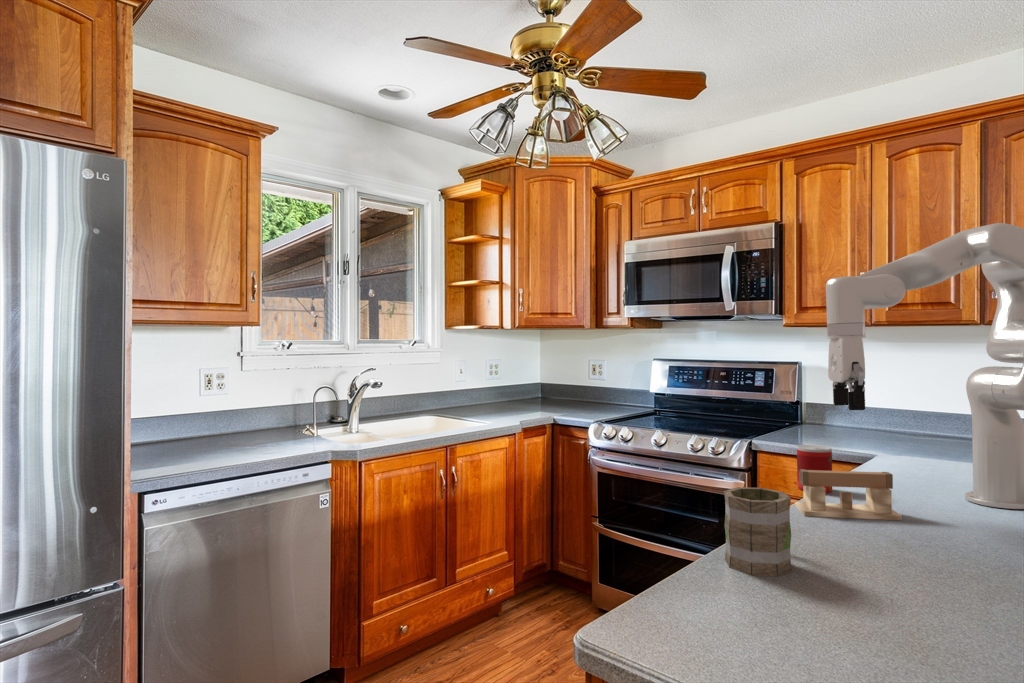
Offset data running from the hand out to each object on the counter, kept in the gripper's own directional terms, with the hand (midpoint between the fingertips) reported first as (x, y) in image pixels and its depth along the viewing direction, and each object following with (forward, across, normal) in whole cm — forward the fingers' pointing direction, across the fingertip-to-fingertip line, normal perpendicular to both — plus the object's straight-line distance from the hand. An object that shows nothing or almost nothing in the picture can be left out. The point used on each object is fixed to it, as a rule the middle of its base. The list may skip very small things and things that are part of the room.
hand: (848, 407), depth 136 cm
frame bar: (+17, +3, -2) cm, 17 cm away
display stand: (+23, +3, -2) cm, 23 cm away
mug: (+22, +37, -27) cm, 51 cm away
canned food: (+23, -18, -3) cm, 30 cm away
